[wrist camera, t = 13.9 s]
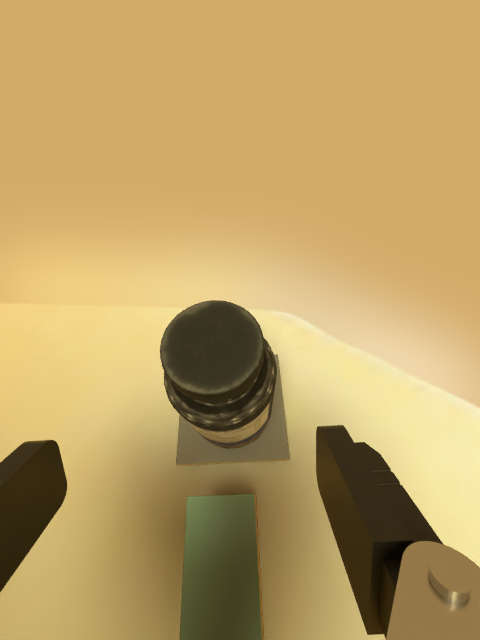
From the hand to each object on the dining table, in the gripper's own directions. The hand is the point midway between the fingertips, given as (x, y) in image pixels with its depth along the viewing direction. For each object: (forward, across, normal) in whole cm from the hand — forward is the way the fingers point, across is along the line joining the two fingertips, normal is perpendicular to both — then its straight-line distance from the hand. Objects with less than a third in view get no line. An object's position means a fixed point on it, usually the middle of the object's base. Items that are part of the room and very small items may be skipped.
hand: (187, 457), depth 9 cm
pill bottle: (+12, -1, +6) cm, 14 cm away
